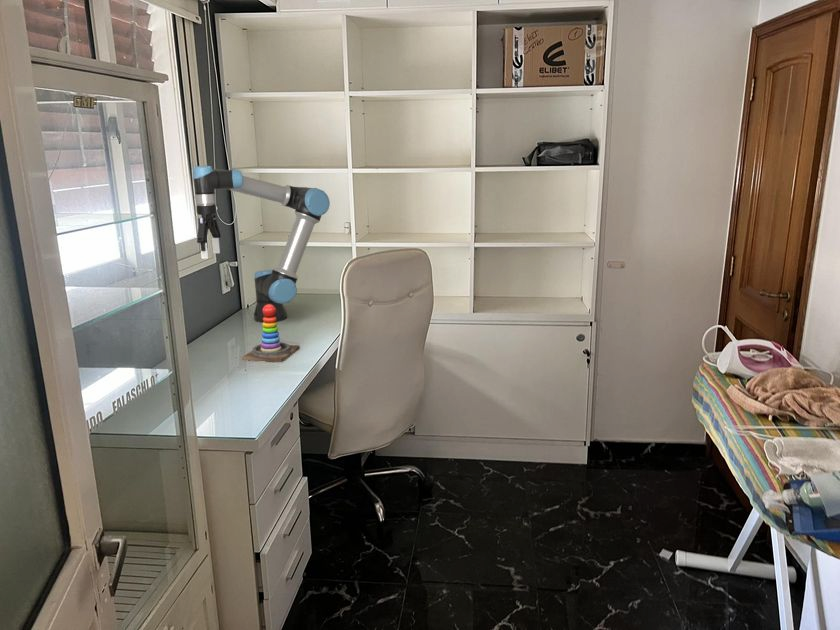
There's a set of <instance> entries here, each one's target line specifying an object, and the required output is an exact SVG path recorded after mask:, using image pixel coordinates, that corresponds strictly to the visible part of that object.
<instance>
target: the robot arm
mask: <svg viewBox="0 0 840 630" xmlns="http://www.w3.org/2000/svg"><path fill="white" fill-rule="evenodd" d="M242 173H243V172H242V171H241V170H240V169H219V168H215V169H213V167H212V166H211V165H196V166H194V167H193V168H192V176H193V177H192V179H193V185H194V194H195V195H194V199H195V203H196V204H197V206H196V213H197V215H200V216H201V217H199V218H197V221H198V222H197V223H198V225H197V227H198V228H197V236H196V237H197V239H196V241H197V244H199V247H200V257H201V259H202V260H208V259H209V249H208V243H207V238H208V233H210V234H211V236H212V238H211V241H212V242H211V244H212V253H213V254H220V253H221V246H220V239H221V238H222V235H221V231H220V227H219V224H218V221H217V215H216V214H217V205H216V195H215V190H226V191H227V190H228V191H232V192H235V193H240V194H245V195H249V196H251V197H256V198H260V199H263V200H268V201H272V202H275V203H276V202H277V203H280V204H281V206H283V207H287V208H290V209H292V210H294V213H295V216H296V217H295V219H294V220H295V221H294V223H293V224H292V225H293V226H292V227H291V231H290V232H289V236H288V238H287V242H286V244H285V247H284V249H283V252H282V254H281V257H280V260H279V262H278V265H277V267H274V268H272V269H264V270H258V271H255V273H254V278H253V280H254V288H255V298H256V300H255V301H256V305H255V309H254V312H253V320H254V321H255V322H259V323H263V322H264V321H263V318H264V317H265V315H264V314H263V307H264V306H265V305H268V304H271V305H273V306H274V307H275V308H276V313H275V315H274V316H275V317H276V321H275V322H279V320H280V321H284V320H286V319H287V318H288V317H287V311H286V308H285V304H288V303H289V302H292V301H293V300H294V299H295V297H296V295H297V290H298V289H297V286H296V284H297V281H298V275H297V272H298V269H299V266H300V263H301V261H302V258H303V256H304V253H305V250H306V248H307V245H308V242H309V240H310V237H311V235H312V232H313V229H314V227H315V225H316V224H318V223H320V222H321V221H320V220H322V219H321V218H322V217H323V215H325V214H327V212H328V211H329V209H330V206H331V205H330V204H331V203H330V197H329V196H328V194H327V193H326V192H325V190H323V189H320V188H317V187H307V186H292V185H288V184H287V185H286V184H285V186H284V185H280V184H275V183H272V182H268V181H265V180H260V179H257V178H253V177H250V176H247V175H246V176H245V175H243V174H242ZM219 238H220V239H219ZM286 317H287V318H286ZM285 318H286V319H285ZM283 319H284V320H283Z"/></svg>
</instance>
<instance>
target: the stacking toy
mask: <svg viewBox="0 0 840 630" xmlns="http://www.w3.org/2000/svg"><path fill="white" fill-rule="evenodd" d="M275 313H276V308H275V307H274V306H273V305H271V304H268V305H265V306H264V307H263V314H264V315H265V317H264V318H263V321H264V322H262V323H261V324H262V329H261V330H262V333H261V342H260V344H261V352H266V353H270V352H278V351H281V349H282V348H281V346H280V344H281V343H280V342H281V338H280V336H279V335H280V332H279V327H278V323H277V321H276V317H275V316H274V315H275Z"/></svg>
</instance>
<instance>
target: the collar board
mask: <svg viewBox="0 0 840 630" xmlns="http://www.w3.org/2000/svg"><path fill="white" fill-rule="evenodd" d="M280 343H281V344H280V346H281V348H282V349H281V351H278V352H270V353H266V352H261V343H260V344H256V345H255V346H254V347H252V350H251V351H249V352H248V353H246V354H245V355H243V356H242V357H241V361H243V360H252V361H251V362H259V361H265V362H264V363H275V362H282V361H283V362H284V361H286V360H287V359H288V358H289V357H291V356H292V355H293V354H295V353H296V352H297V351H299V350H300V349H301V345H299V344H289V343H286V342H281V341H280ZM290 355H291V356H290ZM286 358H287V359H286ZM253 360H254V361H253ZM283 362H282V363H283Z"/></svg>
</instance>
